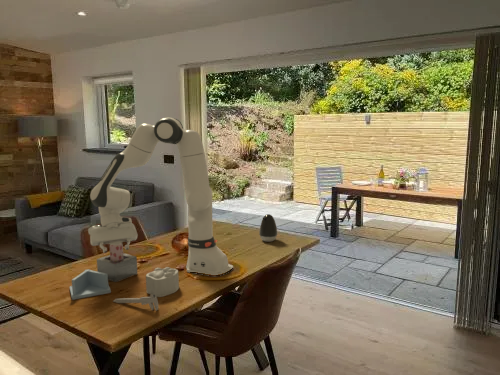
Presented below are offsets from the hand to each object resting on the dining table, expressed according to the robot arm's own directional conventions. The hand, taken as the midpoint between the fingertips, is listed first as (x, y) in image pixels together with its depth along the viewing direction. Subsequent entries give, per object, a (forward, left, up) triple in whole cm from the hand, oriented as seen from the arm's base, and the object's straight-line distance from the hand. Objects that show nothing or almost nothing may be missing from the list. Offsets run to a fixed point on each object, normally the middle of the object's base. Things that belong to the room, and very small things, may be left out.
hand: (116, 250), depth 189 cm
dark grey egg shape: (-28, -82, -12) cm, 88 cm away
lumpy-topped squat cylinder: (-29, 0, -12) cm, 31 cm away
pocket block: (0, 0, -12) cm, 12 cm away
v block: (-4, +18, -12) cm, 21 cm away
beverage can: (0, 0, -12) cm, 12 cm away
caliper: (-31, +17, -12) cm, 37 cm away
